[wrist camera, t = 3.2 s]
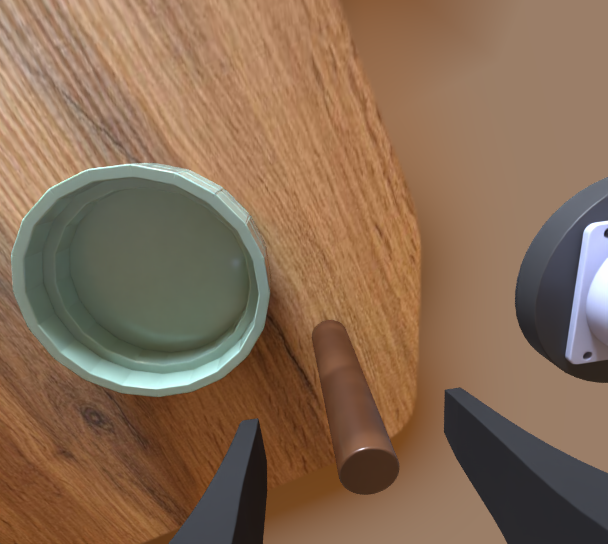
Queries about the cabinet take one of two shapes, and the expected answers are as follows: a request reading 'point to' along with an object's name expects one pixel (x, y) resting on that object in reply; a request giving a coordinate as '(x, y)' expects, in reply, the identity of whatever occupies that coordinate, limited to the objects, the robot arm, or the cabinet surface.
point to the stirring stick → (352, 414)
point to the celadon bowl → (142, 278)
